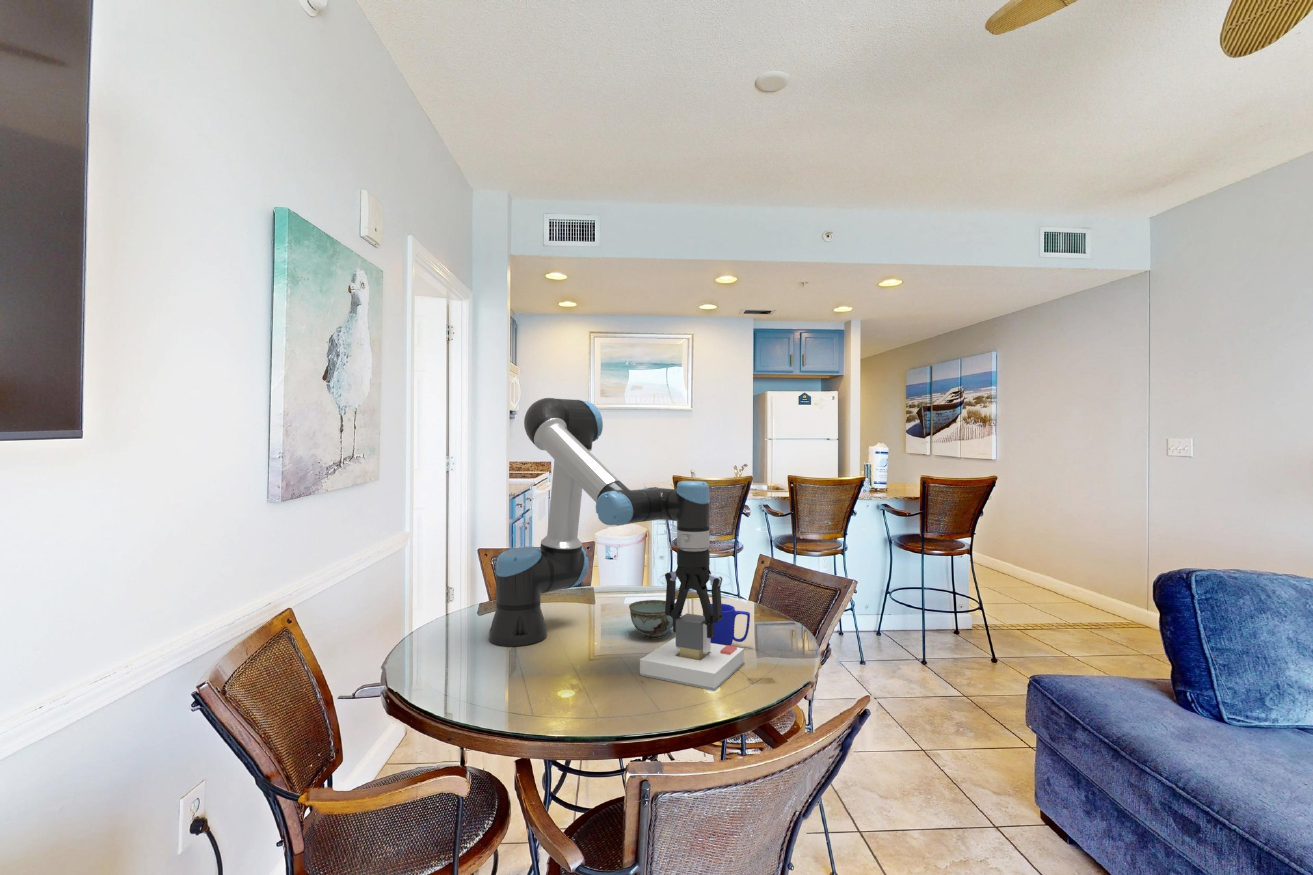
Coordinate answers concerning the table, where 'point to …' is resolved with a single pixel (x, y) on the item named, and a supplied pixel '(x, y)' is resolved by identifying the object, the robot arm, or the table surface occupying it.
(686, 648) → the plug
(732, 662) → the socket plate
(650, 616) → the bowl
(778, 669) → the table surface
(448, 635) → the table surface
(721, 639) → the mug
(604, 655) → the table surface
